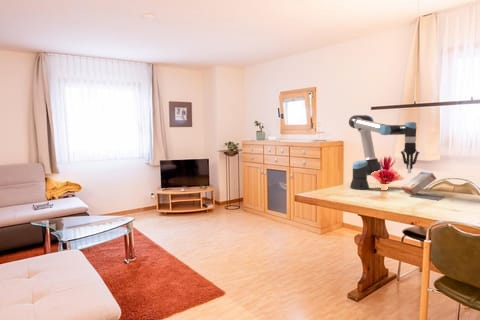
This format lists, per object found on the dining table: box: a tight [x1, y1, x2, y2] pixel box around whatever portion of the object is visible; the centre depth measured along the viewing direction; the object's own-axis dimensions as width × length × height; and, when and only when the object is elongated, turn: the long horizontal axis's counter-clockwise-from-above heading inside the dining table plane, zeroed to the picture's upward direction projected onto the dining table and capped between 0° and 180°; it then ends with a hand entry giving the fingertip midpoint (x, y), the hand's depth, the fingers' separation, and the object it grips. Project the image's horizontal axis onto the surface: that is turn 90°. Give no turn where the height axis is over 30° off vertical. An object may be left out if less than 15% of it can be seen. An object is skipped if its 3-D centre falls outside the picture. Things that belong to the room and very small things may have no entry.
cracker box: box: [401, 171, 437, 195], centre depth 245 cm, size 14×6×21 cm
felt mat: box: [408, 192, 445, 201], centre depth 235 cm, size 19×16×1 cm
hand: (409, 173), depth 243 cm, fingers closed
